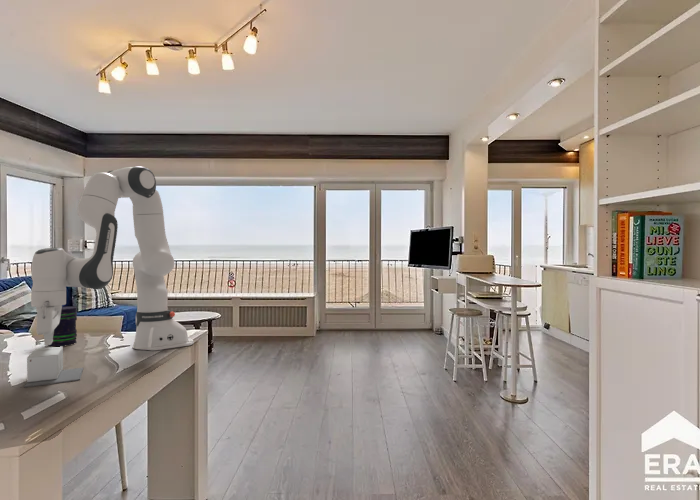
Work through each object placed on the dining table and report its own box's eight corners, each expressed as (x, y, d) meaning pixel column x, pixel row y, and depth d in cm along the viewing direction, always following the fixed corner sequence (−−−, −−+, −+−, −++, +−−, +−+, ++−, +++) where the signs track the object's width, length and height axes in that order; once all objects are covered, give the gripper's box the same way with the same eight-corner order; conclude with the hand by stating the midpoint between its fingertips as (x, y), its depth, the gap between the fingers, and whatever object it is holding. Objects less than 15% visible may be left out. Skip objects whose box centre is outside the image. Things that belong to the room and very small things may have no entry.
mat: (83, 368, 133) (83, 367, 133) (79, 380, 121) (79, 379, 121) (33, 374, 127) (33, 373, 127) (24, 387, 115) (24, 386, 115)
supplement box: (34, 371, 128) (25, 382, 117) (35, 348, 129) (26, 356, 118) (63, 369, 132) (57, 379, 121) (64, 345, 132) (57, 354, 121)
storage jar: (71, 340, 176) (71, 305, 176) (81, 343, 170) (81, 307, 171) (43, 344, 168) (43, 308, 168) (52, 347, 162) (53, 310, 163)
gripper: (57, 302, 121) (56, 349, 121) (64, 296, 139) (64, 337, 138) (30, 303, 118) (29, 352, 118) (41, 297, 135) (41, 339, 135)
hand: (48, 344), depth 128 cm, fingers closed
